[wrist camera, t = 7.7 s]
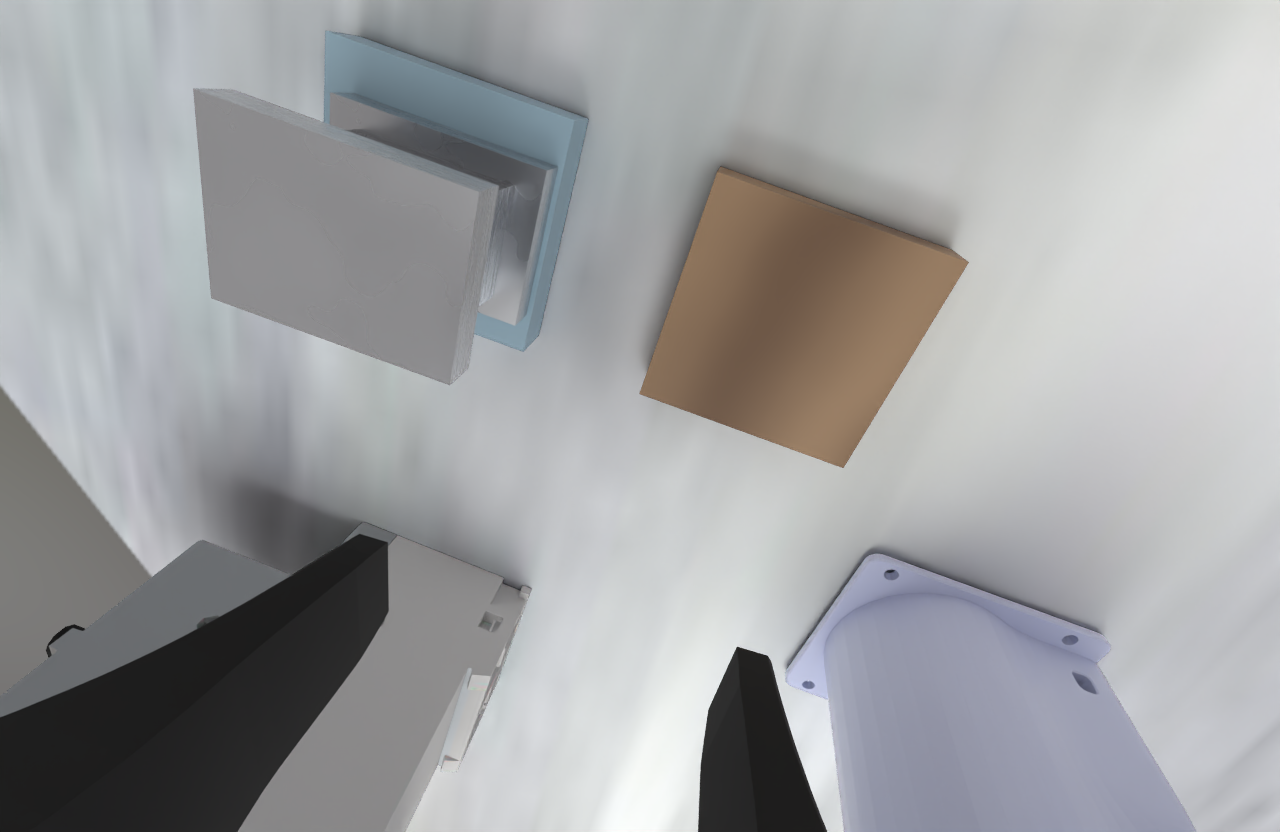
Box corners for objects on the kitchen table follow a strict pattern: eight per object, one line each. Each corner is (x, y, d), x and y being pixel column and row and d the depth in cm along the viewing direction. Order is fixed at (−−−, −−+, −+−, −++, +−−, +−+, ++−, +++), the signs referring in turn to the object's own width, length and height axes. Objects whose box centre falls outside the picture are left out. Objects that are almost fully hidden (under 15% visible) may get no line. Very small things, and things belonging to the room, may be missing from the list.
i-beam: (353, 92, 16) (193, 88, 11) (558, 166, 16) (479, 192, 11) (347, 249, 18) (211, 298, 14) (526, 315, 18) (449, 385, 14)
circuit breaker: (235, 470, 26) (-292, 840, 13) (531, 588, 26) (306, 1071, 13) (238, 580, 30) (-168, 952, 17) (497, 683, 30) (295, 1130, 17)
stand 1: (588, 118, 16) (574, 120, 15) (538, 335, 20) (523, 351, 19) (359, 36, 17) (325, 30, 15) (349, 266, 20) (321, 278, 19)
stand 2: (952, 249, 16) (968, 262, 15) (837, 444, 20) (843, 468, 19) (720, 166, 16) (717, 171, 15) (646, 374, 20) (639, 394, 19)
